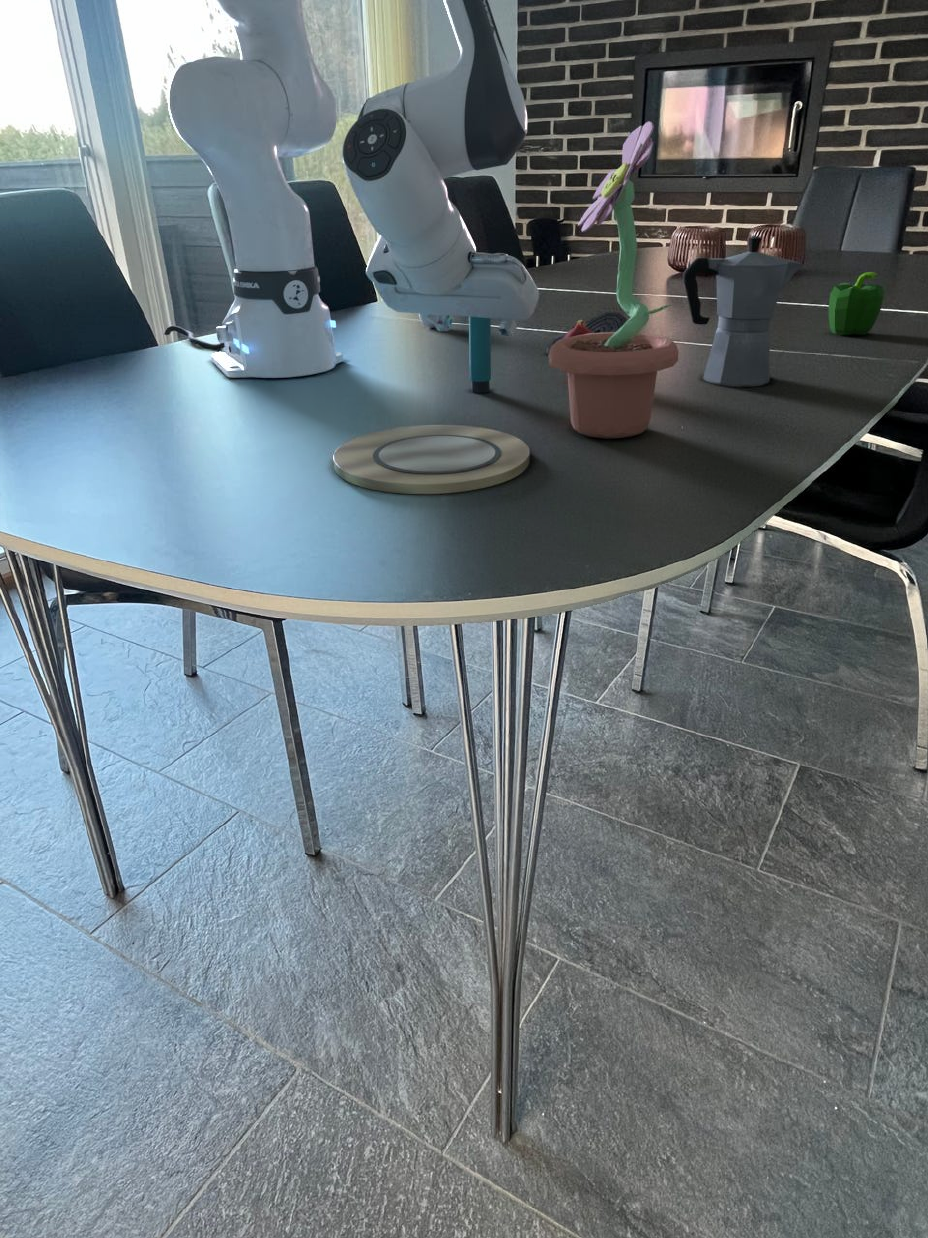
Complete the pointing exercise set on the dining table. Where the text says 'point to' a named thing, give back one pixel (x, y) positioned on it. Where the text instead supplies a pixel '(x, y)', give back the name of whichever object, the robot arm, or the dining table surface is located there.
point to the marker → (480, 353)
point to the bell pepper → (855, 306)
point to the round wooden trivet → (431, 459)
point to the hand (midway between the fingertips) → (477, 328)
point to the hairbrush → (599, 325)
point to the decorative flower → (623, 360)
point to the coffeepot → (740, 312)
